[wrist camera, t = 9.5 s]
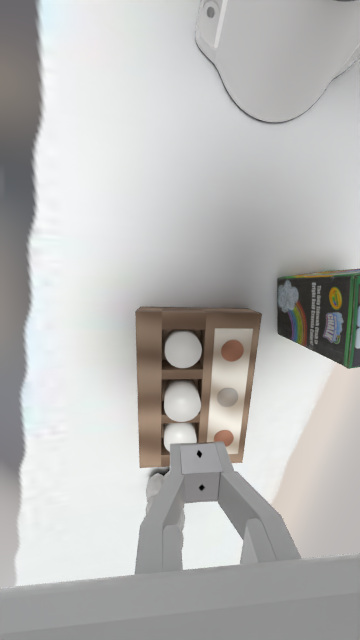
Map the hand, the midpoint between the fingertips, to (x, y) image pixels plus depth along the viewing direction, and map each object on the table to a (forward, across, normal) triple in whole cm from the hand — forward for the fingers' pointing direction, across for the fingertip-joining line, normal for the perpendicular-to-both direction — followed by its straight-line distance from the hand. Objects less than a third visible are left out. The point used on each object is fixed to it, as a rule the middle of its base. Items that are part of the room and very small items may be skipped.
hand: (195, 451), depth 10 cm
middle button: (+15, -1, +7) cm, 16 cm away
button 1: (+16, -1, +14) cm, 21 cm away
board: (+18, -2, +7) cm, 19 cm away
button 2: (+17, -1, 0) cm, 17 cm away
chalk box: (+18, -20, -6) cm, 27 cm away
